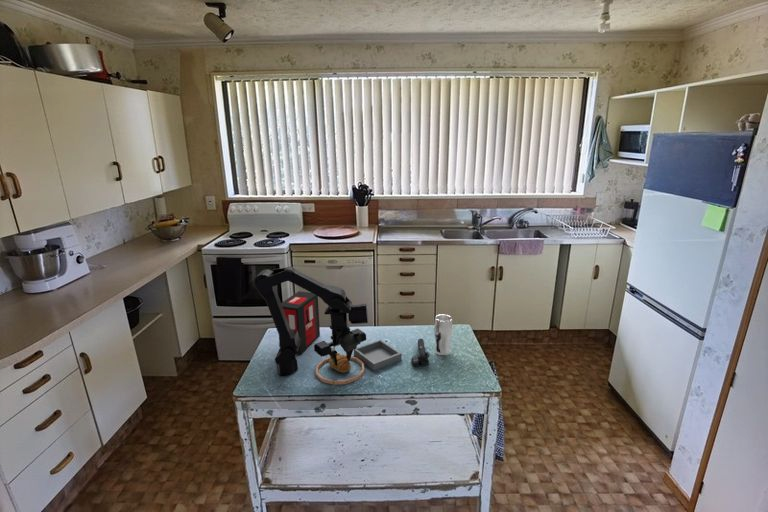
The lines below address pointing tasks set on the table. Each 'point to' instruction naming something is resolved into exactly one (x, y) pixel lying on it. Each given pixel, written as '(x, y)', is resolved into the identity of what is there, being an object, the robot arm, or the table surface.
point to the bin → (377, 355)
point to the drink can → (442, 334)
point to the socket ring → (340, 380)
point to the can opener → (420, 355)
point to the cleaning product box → (303, 317)
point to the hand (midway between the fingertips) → (342, 362)
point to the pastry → (340, 363)
